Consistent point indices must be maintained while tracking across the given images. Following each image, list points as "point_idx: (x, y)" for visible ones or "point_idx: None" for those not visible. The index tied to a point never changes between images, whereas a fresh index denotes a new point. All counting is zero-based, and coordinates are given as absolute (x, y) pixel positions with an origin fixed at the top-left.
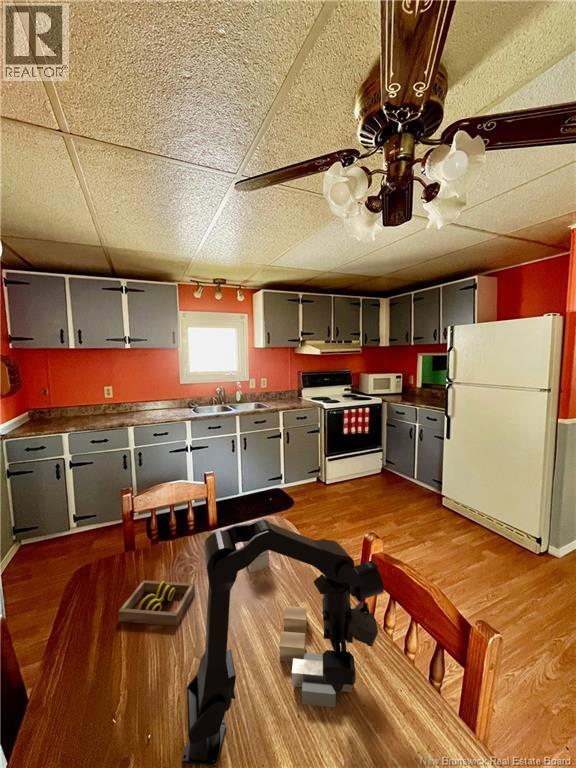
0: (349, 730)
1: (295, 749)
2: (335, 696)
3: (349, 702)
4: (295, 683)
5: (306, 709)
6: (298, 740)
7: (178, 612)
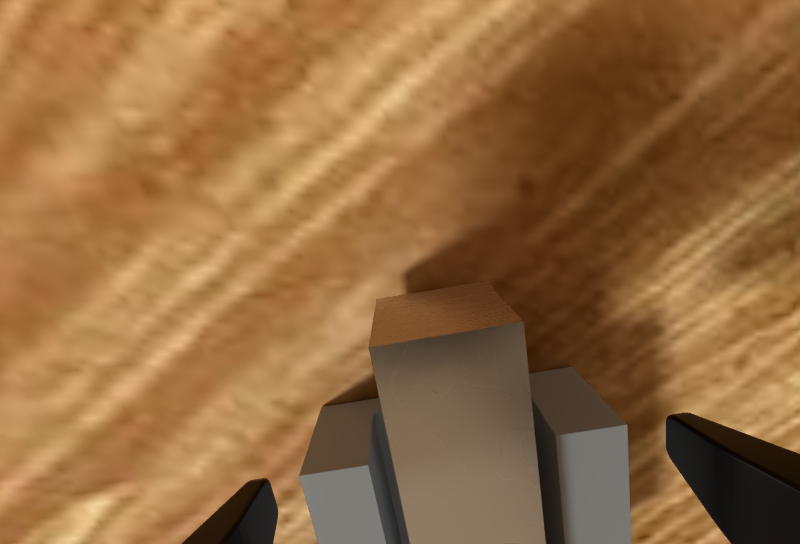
0: (685, 273)
1: None
2: (614, 412)
3: (525, 286)
4: None
5: None
6: None
7: None
